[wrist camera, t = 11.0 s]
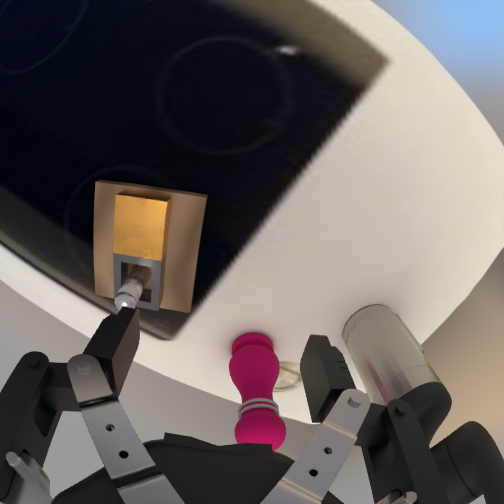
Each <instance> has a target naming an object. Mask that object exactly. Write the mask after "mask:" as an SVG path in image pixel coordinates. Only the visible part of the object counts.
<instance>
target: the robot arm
mask: <svg viewBox="0 0 504 504" xmlns="http://www.w3.org/2000/svg"><path fill="white" fill-rule="evenodd" d="M139 339H140V326H139V310H138V309H135V308H130V307H125V306H123V307H122V308H121V310H120V311H119V313H118V315H117V316H116V315H112V314H111V315H109V316H108V317H106V318H105V319H103V321H102V322H101V324H100V325H99V328H98V329H97V330H96V332H95V334H94V335H93V337H92V338H91V340H90V342H89V343H88V345H87V347H86V348H85V350H84V352H83V354H79V355H76V356H74V357H72V358H71V359H70V360H69V361H68V363H53V362H49V359H48V357H47V356H46V355H45V354H43V353H41V352H36V351H33V352H29V353H27V354H25V355H24V356H23V357H22V358H21V359H20V361H19V363H18V364H17V366H16V367H15V369H14V370H13V372H12V374H11V375H10V377H9V379H8V380H7V382H6V384H5V385H4V387H3V389H2V391H1V392H0V504H344V503H343V502H341V501H340V500H339V499H338V498H336V497H335V496H334V495H333V494H332V493H330V492H329V491H328V490H329V488H330V486H331V485H332V483H333V481H334V480H335V478H336V476H337V475H338V473H339V471H340V469H341V468H342V466H343V464H344V462H345V461H346V459H347V457H348V455H349V453H350V451H351V449H352V447H353V445H357V446H361V448H362V452H363V456H364V460H365V464H366V468H367V473H368V477H369V481H370V485H371V489H372V494H373V499H374V503H375V504H469V503H470V502H472V501H473V500H475V499H477V498H478V497H479V496H481V495H482V494H483V495H484V498H485V501H486V504H504V459H503V457H502V455H501V453H500V451H499V449H498V447H497V445H496V443H495V442H494V440H493V438H492V437H491V435H490V434H489V433H488V431H487V430H486V429H485V428H484V427H483V426H482V425H481V424H479V423H477V422H475V421H470V422H467V423H465V424H464V425H462V426H461V427H459V428H458V429H457V430H455V431H454V432H453V433H451V434H450V435H449V436H447V437H446V438H444V439H443V440H442V441H440V442H439V443H438V444H436V445H435V446H433V447H432V448H431V449H430V447H429V444H430V442H431V440H432V438H433V436H434V434H435V432H436V430H437V429H438V428H439V426H440V425H441V424H442V422H443V421H444V419H445V418H446V416H447V415H448V413H449V411H450V408H451V405H452V400H451V397H450V394H449V393H448V391H447V389H446V388H445V386H444V385H443V384H442V382H441V380H440V379H439V377H438V376H437V374H436V373H435V371H434V370H433V369H432V367H431V366H430V364H429V363H428V361H427V360H426V358H425V357H424V355H423V353H424V350H423V348H422V347H421V345H420V344H419V343H418V341H417V340H416V339H415V337H414V336H413V334H412V333H411V332H410V330H409V329H408V328H407V326H406V325H405V324H404V322H403V321H402V320H401V318H400V317H399V316H398V315H395V314H393V312H392V311H391V310H390V309H389V308H388V307H386V306H383V305H372V306H368V307H366V308H363V309H361V310H360V311H358V312H357V313H355V314H354V315H353V316H352V317H351V318H350V320H349V321H348V322H347V324H346V326H345V328H344V331H343V339H344V342H345V344H346V346H347V349H348V351H349V353H350V355H351V358H352V360H353V362H354V364H355V366H356V369H357V371H358V373H359V375H360V378H361V380H362V382H363V384H364V386H365V389H366V391H367V393H368V395H369V398H370V399H369V398H368V396H367V395H366V394H365V393H363V392H362V391H359V390H357V389H356V386H355V384H354V381H353V379H352V376H351V374H350V371H349V369H348V367H347V364H346V363H345V359H344V357H343V354H342V353H341V352H340V351H339V350H338V349H337V348H336V347H334V346H331V345H330V342H329V339H328V337H327V336H324V335H310V337H309V339H308V342H307V344H306V347H305V350H304V352H303V355H302V358H301V362H300V371H301V376H302V380H303V384H304V389H305V393H306V397H307V402H308V406H309V411H310V415H311V419H312V423H321V426H320V427H319V429H318V430H317V432H316V433H315V435H314V436H313V438H312V439H311V440H310V442H309V443H308V445H307V446H306V447H305V449H304V450H303V451H302V453H301V454H300V456H299V457H298V458H297V460H296V461H294V460H293V459H291V458H289V457H287V456H286V455H283V454H281V453H278V452H275V451H273V449H272V444H261V443H240V444H233V445H224V446H217V445H213V444H211V443H208V442H205V441H202V440H199V439H196V438H193V437H189V436H183V435H177V434H171V433H166V432H165V435H164V439H159V440H151V441H147V442H144V443H142V442H141V440H140V439H139V437H138V435H137V434H136V432H135V430H134V428H133V426H132V425H131V423H130V421H129V419H128V417H127V415H126V414H125V411H124V410H123V407H122V406H121V404H120V402H119V400H118V397H119V395H120V392H121V389H122V387H123V384H124V381H125V379H126V376H127V374H128V371H129V368H130V366H131V363H132V361H133V358H134V356H135V353H136V351H137V348H138V345H139ZM370 400H371V402H372V403H371V402H370ZM63 411H78V412H79V411H80V412H81V413H82V415H83V418H84V421H85V423H86V426H87V428H88V431H89V433H90V435H91V438H92V440H93V442H94V445H95V447H96V449H97V451H98V453H99V456H100V458H101V460H102V462H103V464H104V467H103V468H101V469H100V470H98V471H97V472H95V473H93V474H91V475H90V476H88V477H87V478H85V479H83V480H82V481H80V482H78V483H76V484H75V485H73V486H71V487H69V488H68V489H66V490H64V491H62V492H61V493H59V494H58V495H57V496H56V497H55V498H54V499H52V498H51V496H50V491H49V489H50V481H49V478H48V476H47V475H46V473H45V472H44V471H43V469H42V468H43V464H44V461H45V458H46V455H47V452H48V449H49V446H50V443H51V441H52V438H53V435H54V432H55V430H56V427H57V424H58V422H59V419H60V417H61V414H62V412H63Z"/></svg>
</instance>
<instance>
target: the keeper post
mask: <svg viewBox="0 0 504 504" xmlns="http://www.w3.org/2000/svg"><path fill="white" fill-rule="evenodd" d="M150 276H151V271H150V269H149V268H148V267H147V266H142V265H135V266H134V268H133V269H132V271H131V272H130V274H129V275H128V277H127V278H126V280H125V282H124V283H123V285H122V286H121V288H120V290H119V291H118V293H117V295H116V297H115V305H116V307H117V308H118V309H119V310H121V308H122V307H123V306H125V307H130V308H135V306H136V304H137V302H138V300H139V298H140V296H141V294H142V292H143V290H144V288H145V286H146V284H147V282H148V280H149V278H150Z"/></svg>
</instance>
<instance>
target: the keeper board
mask: <svg viewBox="0 0 504 504" xmlns="http://www.w3.org/2000/svg"><path fill="white" fill-rule="evenodd" d="M124 189H129V190H136V191H143V192H151V193H158V194H164V195H171V196H173V197H172V205H171V213H170V222H169V231H168V241H167V251H166V263H165V276H164V290H163V300H162V302H161V305H160V308H164V309H170V310H176V311H181V312H187V313H190V311H191V306H192V298H193V290H194V282H195V274H196V267H197V260H198V253H199V246H200V239H201V233H202V226H203V220H204V214H205V207H206V201H207V195H205V194H198V193H192V192H186V191H180V190H173V189H166V188H160V187H153V186H146V185H138V184H131V183H123V182H115V181H107V180H99V181H97V182H96V185H95V203H94V274H95V292H96V295H100V296H105V297H109V298H114V269H113V252H114V217H115V200H116V194H118V193H119V192H121V191H122V190H124ZM135 265H136V264H131V263H128V275H129V274H130V272H131V271H132V269H133V268H134V266H135ZM148 268H149V269H150V271H151V276H150V278H149V280H148V282H147V284H146V286H145V288H144V289H149V290H152V269H153V267H148Z"/></svg>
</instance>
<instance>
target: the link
mask: <svg viewBox="0 0 504 504" xmlns="http://www.w3.org/2000/svg"><path fill="white" fill-rule="evenodd" d="M172 197H173V196H171V195H164V194H158V193H151V192H143V191H136V190H129V189H124V190H122V191H121V192H119V193H118V194H116V200H115V217H114V252H113V269H114V302H115V297H116V295H117V293H118V291H119V290H120V288H121V286H122V285H123V283H124V282H125V280H126V278H127V277H128V263H131V264H136V265H142V266H147V267H153V269H152V290H149V289H144V290H143V292H142V294H141V296H140V298H139V300H138V302H137V304H136V306H135V307H140V308H146V309H151V310H156V311H159V308H160V305H161V302H162V300H163V290H164V276H165V263H166V251H167V241H168V231H169V222H170V213H171V205H172Z"/></svg>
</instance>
